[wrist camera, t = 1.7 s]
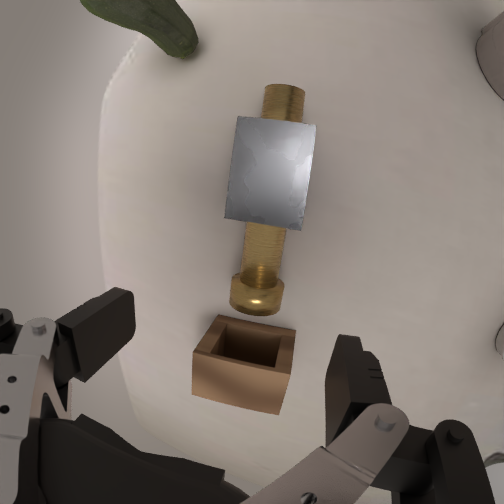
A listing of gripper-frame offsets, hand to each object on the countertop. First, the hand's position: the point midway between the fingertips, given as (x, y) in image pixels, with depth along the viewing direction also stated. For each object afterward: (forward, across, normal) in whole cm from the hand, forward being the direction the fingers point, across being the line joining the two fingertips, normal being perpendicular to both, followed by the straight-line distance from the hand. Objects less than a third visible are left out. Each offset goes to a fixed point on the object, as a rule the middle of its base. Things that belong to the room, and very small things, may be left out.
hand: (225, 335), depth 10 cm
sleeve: (+16, 0, -6) cm, 18 cm away
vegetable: (+17, +10, -18) cm, 26 cm away
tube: (+15, 0, -4) cm, 15 cm away
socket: (+16, +1, +11) cm, 20 cm away
